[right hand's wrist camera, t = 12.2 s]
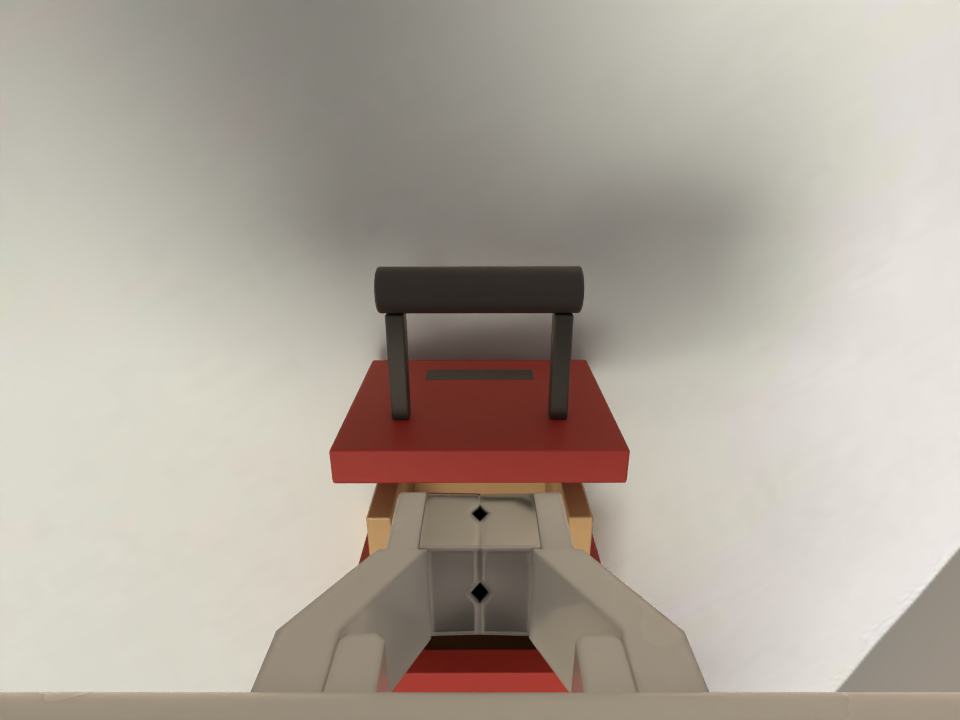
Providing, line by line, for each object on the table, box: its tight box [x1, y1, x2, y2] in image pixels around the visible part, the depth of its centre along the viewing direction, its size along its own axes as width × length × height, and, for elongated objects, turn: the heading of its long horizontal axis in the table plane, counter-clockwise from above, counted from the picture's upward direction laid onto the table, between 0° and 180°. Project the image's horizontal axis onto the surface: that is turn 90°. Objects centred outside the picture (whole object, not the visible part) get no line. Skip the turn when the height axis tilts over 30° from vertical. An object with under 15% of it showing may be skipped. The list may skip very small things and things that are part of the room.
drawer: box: [329, 266, 630, 650], centre depth 23 cm, size 21×9×8 cm, turn 0°
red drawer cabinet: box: [359, 533, 601, 693], centre depth 27 cm, size 18×10×10 cm, turn 0°
